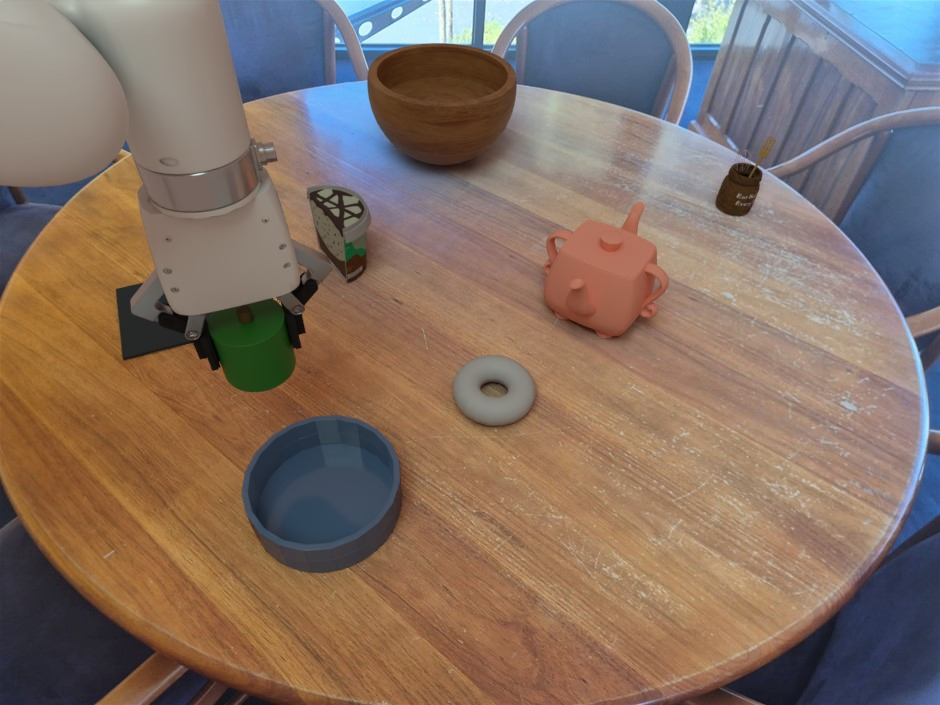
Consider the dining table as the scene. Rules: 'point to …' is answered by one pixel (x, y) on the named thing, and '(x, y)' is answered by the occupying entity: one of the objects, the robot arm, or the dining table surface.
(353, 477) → the serving bowl
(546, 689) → the dining table surface
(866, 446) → the dining table surface
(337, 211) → the food container
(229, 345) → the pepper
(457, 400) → the donut
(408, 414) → the dining table surface
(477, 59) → the bowl
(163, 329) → the mat
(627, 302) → the teapot
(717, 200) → the utensil holder
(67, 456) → the dining table surface
